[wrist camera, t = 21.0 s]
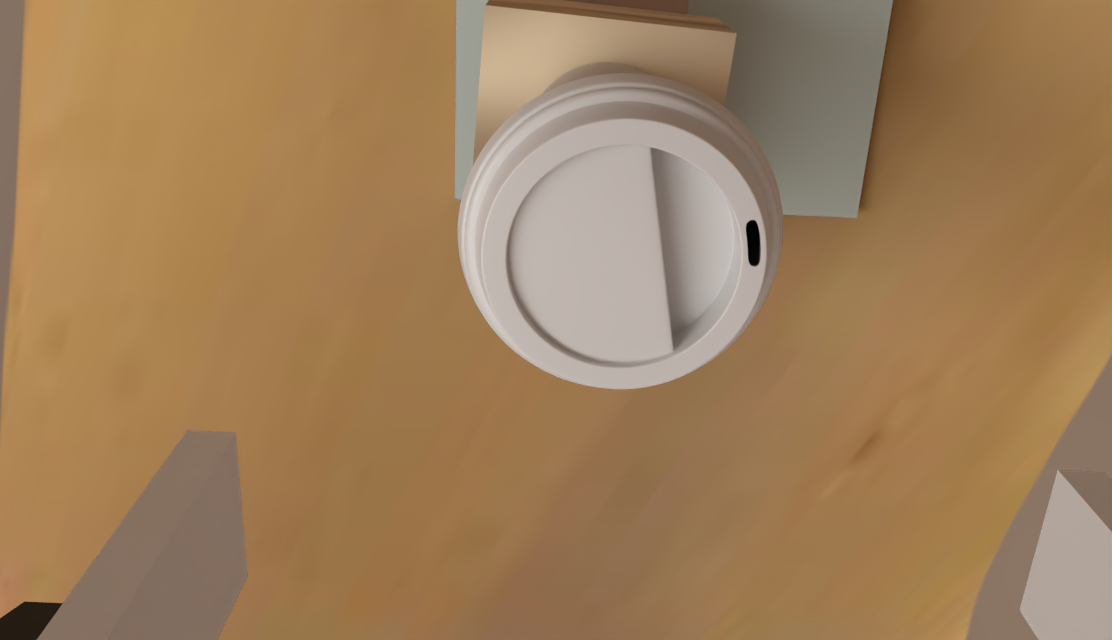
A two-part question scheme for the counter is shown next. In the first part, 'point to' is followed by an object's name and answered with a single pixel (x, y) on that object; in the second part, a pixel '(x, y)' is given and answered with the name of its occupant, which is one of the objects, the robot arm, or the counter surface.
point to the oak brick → (590, 51)
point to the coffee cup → (620, 228)
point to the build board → (763, 91)
